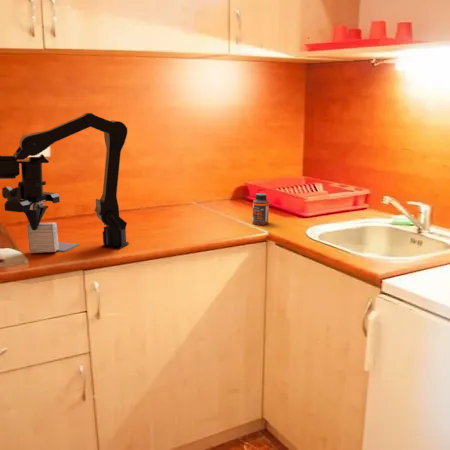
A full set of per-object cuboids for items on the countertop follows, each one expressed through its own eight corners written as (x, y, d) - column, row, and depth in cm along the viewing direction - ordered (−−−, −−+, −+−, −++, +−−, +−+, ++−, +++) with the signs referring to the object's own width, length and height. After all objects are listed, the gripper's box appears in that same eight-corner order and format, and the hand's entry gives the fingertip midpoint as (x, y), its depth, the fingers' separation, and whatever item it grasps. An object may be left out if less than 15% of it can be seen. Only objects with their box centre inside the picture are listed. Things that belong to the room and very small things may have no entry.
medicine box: (59, 249, 168) (57, 222, 167) (55, 252, 164) (52, 223, 162) (33, 250, 168) (31, 223, 167) (28, 253, 163) (26, 225, 162)
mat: (79, 245, 174) (79, 244, 174) (64, 252, 167) (64, 250, 167) (55, 242, 177) (55, 241, 177) (40, 249, 170) (39, 248, 170)
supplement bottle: (250, 224, 202) (251, 194, 199) (254, 221, 207) (255, 192, 205) (266, 225, 200) (266, 195, 197) (269, 222, 206) (270, 193, 203)
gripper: (28, 172, 169) (30, 221, 173) (-14, 180, 152) (-10, 233, 155) (59, 175, 166) (61, 224, 169) (20, 183, 149) (23, 238, 152)
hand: (34, 230), depth 162 cm, fingers closed
